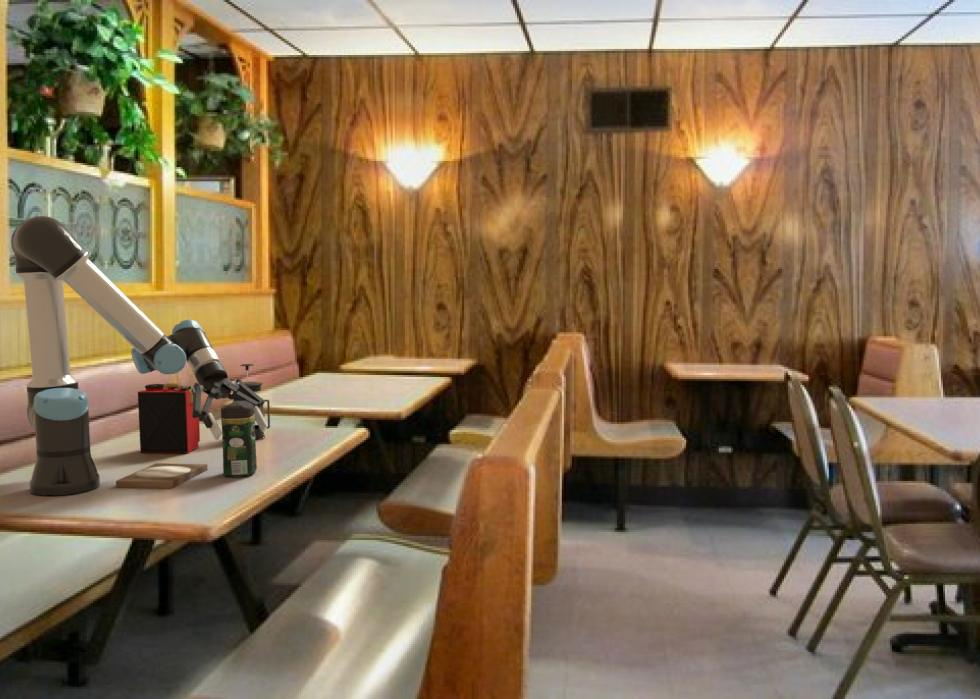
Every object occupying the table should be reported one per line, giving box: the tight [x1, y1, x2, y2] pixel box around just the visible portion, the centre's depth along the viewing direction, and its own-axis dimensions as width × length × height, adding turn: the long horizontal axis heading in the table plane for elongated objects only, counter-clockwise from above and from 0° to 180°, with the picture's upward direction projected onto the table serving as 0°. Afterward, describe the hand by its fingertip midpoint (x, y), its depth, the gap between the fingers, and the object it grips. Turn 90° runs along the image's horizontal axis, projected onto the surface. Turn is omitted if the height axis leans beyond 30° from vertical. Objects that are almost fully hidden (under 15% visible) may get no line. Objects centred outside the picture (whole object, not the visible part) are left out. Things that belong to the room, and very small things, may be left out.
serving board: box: [115, 462, 208, 489], centre depth 227 cm, size 20×14×2 cm
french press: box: [232, 363, 271, 440], centre depth 280 cm, size 12×9×23 cm
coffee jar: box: [220, 400, 258, 478], centre depth 231 cm, size 10×8×19 cm
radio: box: [137, 382, 201, 454], centre depth 262 cm, size 16×10×20 cm, turn 84°
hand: (242, 432), depth 231 cm, fingers open, 13 cm apart
